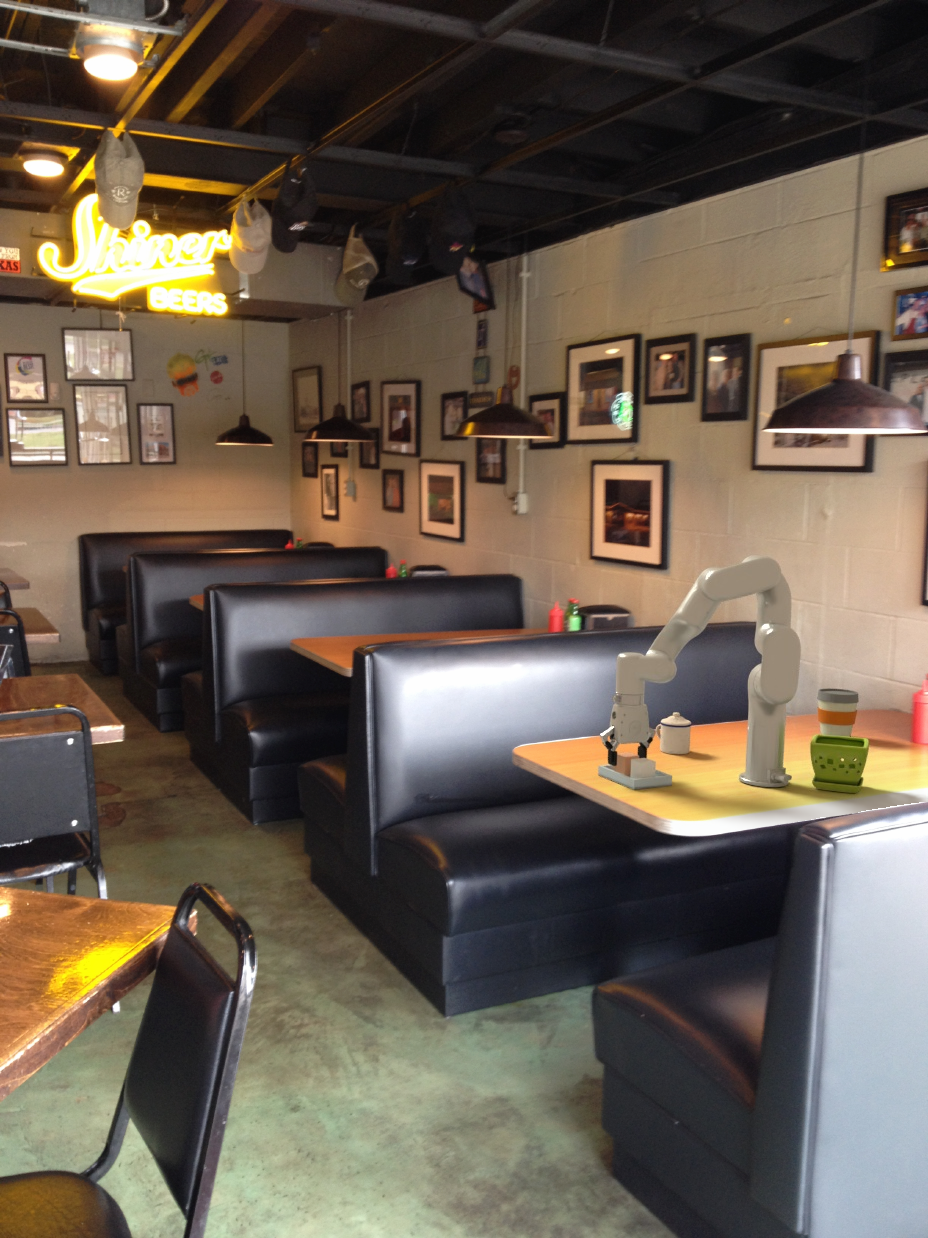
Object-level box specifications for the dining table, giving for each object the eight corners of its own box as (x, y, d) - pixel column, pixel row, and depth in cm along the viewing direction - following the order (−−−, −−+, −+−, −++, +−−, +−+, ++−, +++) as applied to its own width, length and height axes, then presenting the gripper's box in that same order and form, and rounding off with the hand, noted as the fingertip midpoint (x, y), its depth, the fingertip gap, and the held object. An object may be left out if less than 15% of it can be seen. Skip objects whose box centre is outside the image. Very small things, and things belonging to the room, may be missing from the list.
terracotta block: (638, 776, 270) (639, 755, 269) (624, 777, 268) (625, 757, 267) (628, 772, 274) (629, 752, 273) (614, 773, 272) (615, 753, 271)
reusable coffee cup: (806, 734, 331) (809, 689, 330) (835, 732, 337) (838, 687, 335) (835, 743, 320) (838, 695, 319) (865, 740, 325) (867, 693, 324)
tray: (671, 785, 263) (672, 775, 263) (633, 790, 258) (634, 780, 258) (634, 771, 277) (635, 761, 277) (598, 775, 272) (598, 765, 272)
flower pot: (867, 785, 268) (870, 737, 267) (864, 798, 256) (868, 748, 254) (811, 778, 274) (813, 732, 273) (806, 791, 261) (809, 742, 260)
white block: (654, 782, 263) (655, 761, 263) (640, 784, 261) (641, 763, 261) (644, 778, 267) (645, 757, 267) (630, 780, 265) (631, 759, 265)
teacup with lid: (696, 752, 302) (698, 714, 301) (675, 756, 296) (677, 717, 295) (666, 745, 311) (667, 707, 310) (645, 748, 306) (647, 710, 305)
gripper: (610, 704, 261) (608, 769, 263) (664, 700, 269) (662, 763, 271) (594, 699, 268) (591, 763, 270) (647, 695, 276) (645, 757, 278)
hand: (627, 763), depth 270 cm, fingers open, 9 cm apart
